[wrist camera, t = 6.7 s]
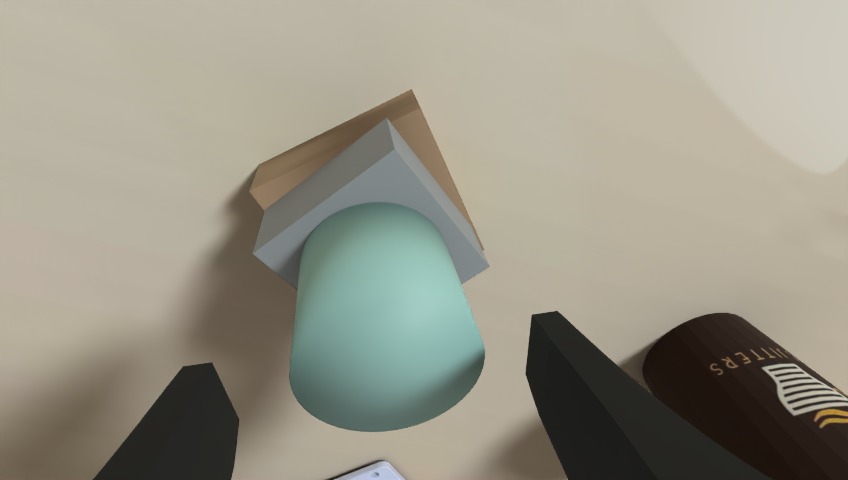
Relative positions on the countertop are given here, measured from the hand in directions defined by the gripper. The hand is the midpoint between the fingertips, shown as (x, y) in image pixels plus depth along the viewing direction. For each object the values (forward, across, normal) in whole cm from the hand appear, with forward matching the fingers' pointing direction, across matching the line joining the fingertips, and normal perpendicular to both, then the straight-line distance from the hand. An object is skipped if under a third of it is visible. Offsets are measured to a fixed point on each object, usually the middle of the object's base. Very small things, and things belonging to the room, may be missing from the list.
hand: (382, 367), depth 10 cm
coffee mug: (+9, -19, +13) cm, 25 cm away
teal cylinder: (+4, 0, 0) cm, 4 cm away
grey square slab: (+6, 0, 0) cm, 6 cm away
